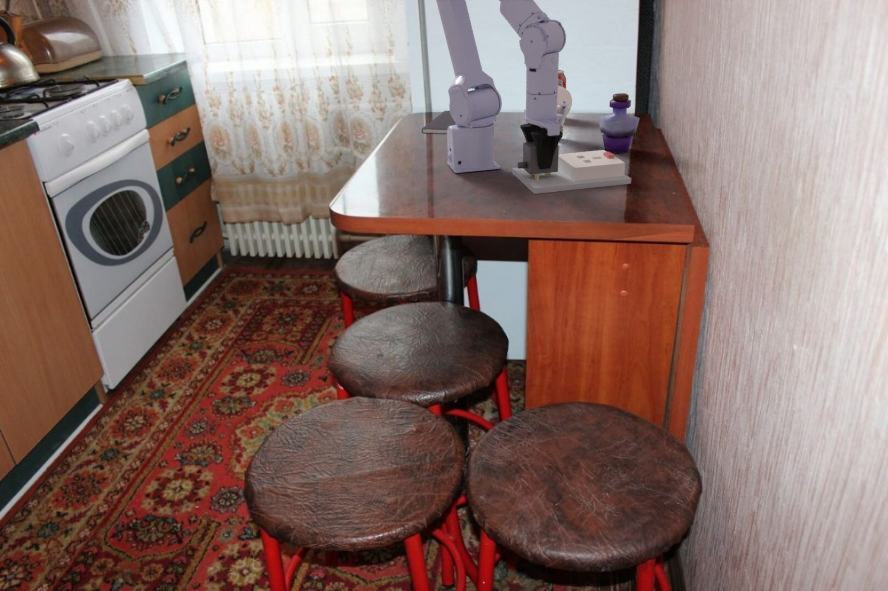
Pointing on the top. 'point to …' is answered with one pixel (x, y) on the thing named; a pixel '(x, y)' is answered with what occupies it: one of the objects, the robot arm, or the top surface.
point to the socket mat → (564, 181)
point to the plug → (531, 161)
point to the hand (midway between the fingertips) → (540, 164)
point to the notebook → (439, 123)
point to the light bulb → (563, 104)
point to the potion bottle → (618, 125)
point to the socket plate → (590, 165)
